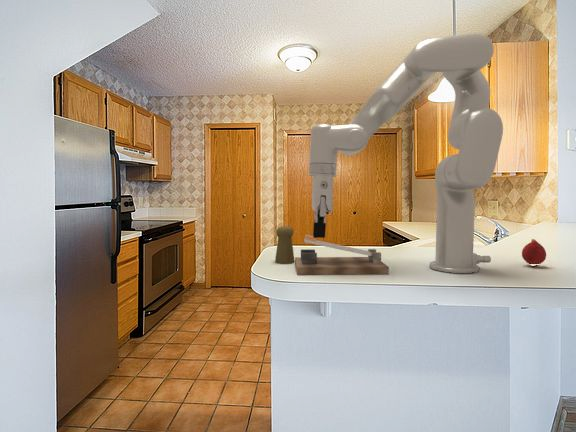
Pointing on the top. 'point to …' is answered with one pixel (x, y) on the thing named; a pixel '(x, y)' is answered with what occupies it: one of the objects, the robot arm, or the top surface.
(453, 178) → the robot arm
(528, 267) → the top surface
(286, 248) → the pepper mill
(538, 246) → the onion
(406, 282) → the top surface
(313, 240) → the hinged lever bar
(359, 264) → the board
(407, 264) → the top surface
